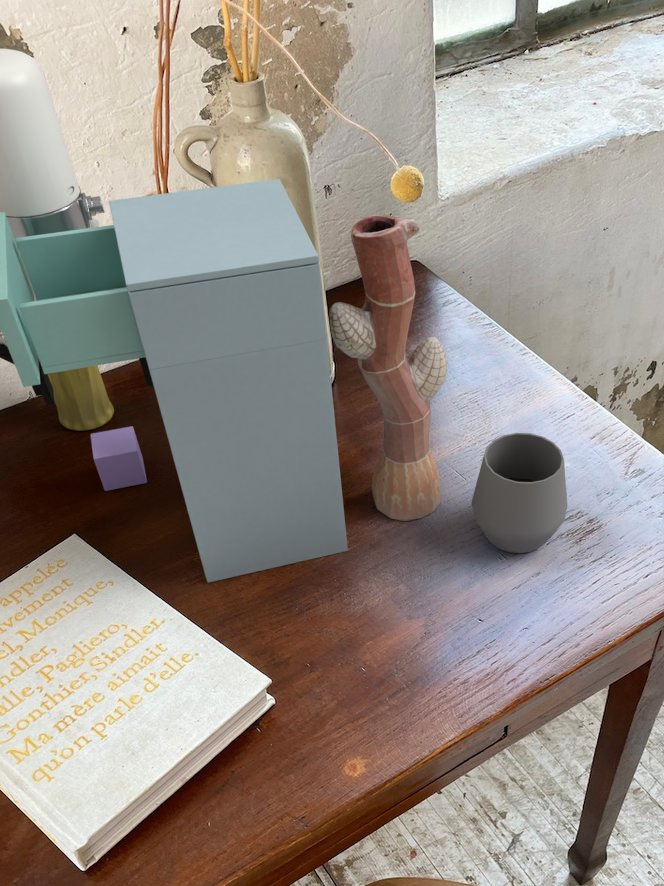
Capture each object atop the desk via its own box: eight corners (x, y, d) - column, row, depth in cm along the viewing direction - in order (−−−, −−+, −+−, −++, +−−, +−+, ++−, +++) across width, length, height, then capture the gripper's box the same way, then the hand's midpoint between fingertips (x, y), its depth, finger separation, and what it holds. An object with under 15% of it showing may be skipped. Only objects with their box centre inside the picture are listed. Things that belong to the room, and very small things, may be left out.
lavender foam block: (105, 491, 96) (93, 458, 93) (101, 466, 99) (90, 433, 95) (147, 482, 97) (137, 450, 94) (142, 458, 100) (132, 425, 96)
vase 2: (444, 474, 99) (447, 200, 76) (449, 519, 94) (454, 241, 71) (347, 478, 98) (321, 202, 76) (347, 524, 93) (320, 244, 71)
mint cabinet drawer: (-48, 400, 66) (-90, 313, 61) (-45, 306, 75) (-81, 222, 69) (211, 356, 70) (193, 270, 65) (186, 272, 79) (168, 190, 74)
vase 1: (62, 436, 102) (19, 323, 91) (57, 406, 106) (15, 294, 95) (117, 425, 104) (82, 312, 93) (111, 395, 107) (75, 284, 97)
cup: (468, 564, 89) (472, 487, 82) (471, 501, 96) (474, 424, 88) (564, 568, 89) (576, 492, 82) (561, 505, 95) (571, 428, 88)
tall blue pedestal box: (207, 583, 87) (125, 284, 64) (186, 492, 96) (108, 200, 73) (347, 551, 90) (318, 255, 67) (315, 465, 99) (279, 178, 76)
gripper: (140, 186, 81) (183, 352, 94) (-65, 216, 77) (8, 385, 90) (149, 222, 76) (194, 392, 89) (-69, 256, 73) (10, 428, 85)
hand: (100, 389), depth 90 cm, fingers open, 9 cm apart
